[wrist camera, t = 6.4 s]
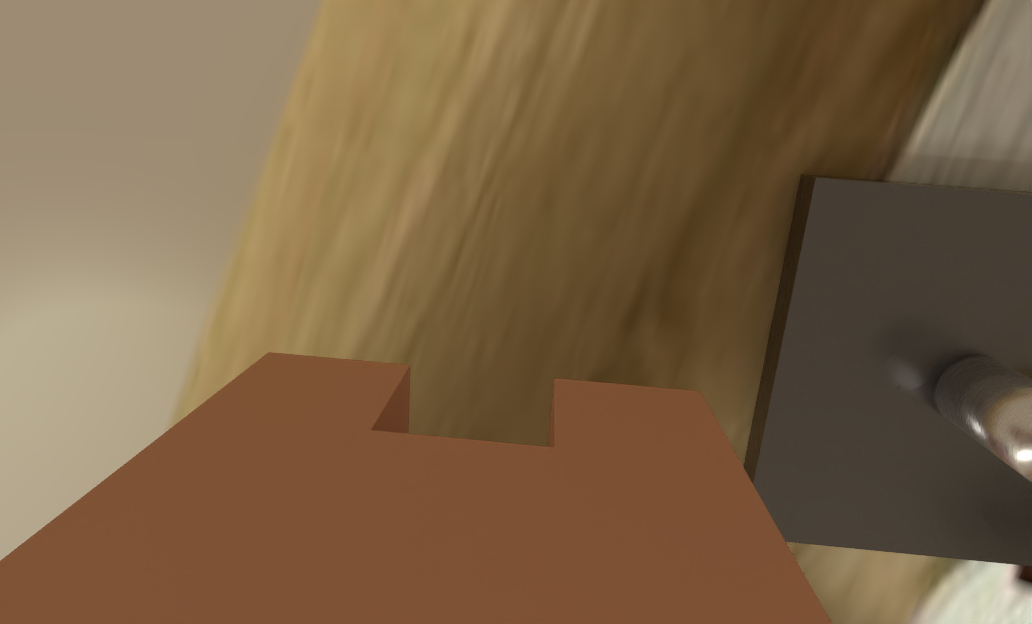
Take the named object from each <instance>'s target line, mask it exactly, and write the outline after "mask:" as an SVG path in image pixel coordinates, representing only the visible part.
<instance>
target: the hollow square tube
mask: <svg viewBox="0 0 1032 624" xmlns="http://www.w3.org/2000/svg"><path fill="white" fill-rule="evenodd" d="M409 394H410V365H403V364H392V363H381V362H370V361H359V360H348V359H337V358H326V357H315V356H304V355H292V354H281V353H270V352H268V353H267V354H266V355H265V356H263V357H262V358H261V359H259V360H258V361H257V362H256V363H254V364H253V365H252V366H250V367H249V368H248V369H247V370H245V371H244V372H243V373H241V374H240V375H239V376H238V377H236V378H235V379H234V380H232V381H231V382H230V383H229V384H227V385H226V386H225V387H223V388H222V389H221V390H220V391H218V392H217V393H216V394H214V395H213V396H212V397H211V398H209V399H208V400H207V401H205V402H204V403H203V404H202V405H200V406H199V407H198V408H196V409H195V410H194V411H193V412H191V413H190V414H189V415H187V416H186V417H185V418H184V419H182V420H181V421H180V422H178V423H177V424H176V425H175V426H173V427H172V428H171V429H169V430H168V431H167V432H165V433H164V434H163V435H162V436H160V437H159V438H158V439H157V440H155V441H154V442H153V443H151V444H150V445H149V446H147V447H146V448H145V449H144V450H142V451H141V452H140V453H139V454H137V455H136V456H135V457H133V458H132V459H131V460H130V461H128V462H127V463H126V464H124V465H123V466H122V467H120V468H119V469H118V470H117V471H115V472H114V473H113V474H112V475H110V476H109V477H108V478H107V479H105V480H104V481H102V482H101V483H100V484H99V485H97V486H96V487H95V488H93V489H92V490H91V491H90V492H88V493H87V494H86V495H85V496H83V497H82V498H81V499H79V500H78V501H77V502H75V503H74V504H73V505H72V506H70V507H69V508H68V509H67V510H65V511H64V512H63V513H61V514H60V515H59V516H57V517H56V518H55V519H54V520H52V521H51V522H50V523H48V524H47V525H46V526H45V527H43V528H42V529H41V530H39V531H38V532H37V533H36V534H34V535H33V536H32V537H30V538H29V539H28V540H27V541H25V542H24V543H23V544H21V545H20V546H19V547H17V548H16V549H15V550H14V551H12V552H11V553H10V554H9V555H7V556H6V557H5V558H4V559H2V560H1V561H0V624H831V622H830V620H829V618H828V616H827V615H826V613H825V611H824V609H823V608H822V606H821V604H820V602H819V601H818V599H817V597H816V595H815V593H814V592H813V590H812V588H811V586H810V585H809V583H808V581H807V579H806V577H805V576H804V574H803V572H802V570H801V569H800V567H799V565H798V563H797V561H796V560H795V558H794V556H793V554H792V553H791V551H790V549H789V547H788V546H787V544H786V542H785V540H784V538H783V537H782V535H781V533H780V531H779V530H778V528H777V526H776V524H775V522H774V521H773V519H772V517H771V515H770V514H769V512H768V510H767V508H766V507H765V505H764V503H763V501H762V499H761V498H760V496H759V494H758V492H757V491H756V489H755V487H754V485H753V483H752V482H751V480H750V478H749V476H748V475H747V473H746V471H745V469H744V468H743V466H742V464H741V462H740V460H739V459H738V457H737V455H736V453H735V452H734V450H733V448H732V446H731V444H730V443H729V441H728V439H727V437H726V436H725V434H724V432H723V430H722V428H721V427H720V425H719V423H718V421H717V420H716V418H715V416H714V414H713V413H712V411H711V409H710V407H709V405H708V404H707V402H706V400H705V398H704V397H703V395H702V393H701V391H692V390H681V389H670V388H659V387H648V386H637V385H625V384H614V383H603V382H592V381H581V380H570V379H559V378H554V386H553V397H552V407H551V417H550V428H549V438H548V447H546V446H535V445H524V444H514V443H503V442H492V441H482V440H471V439H460V438H450V437H439V436H429V435H418V434H408V428H409Z"/></svg>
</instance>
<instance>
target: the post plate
mask: <svg viewBox="0 0 1032 624" xmlns="http://www.w3.org/2000/svg"><path fill="white" fill-rule="evenodd" d="M744 469H745V471H746V473H747V475H748V476H749V478H750V480H751V482H752V483H753V485H754V487H755V489H756V491H757V492H758V494H759V496H760V498H761V499H762V501H763V503H764V505H765V507H766V508H767V510H768V512H769V514H770V515H771V517H772V519H773V521H774V522H775V524H776V526H777V528H778V530H779V531H780V533H781V535H782V537H783V538H784V540H785V542H795V543H805V544H815V545H825V546H835V547H845V548H855V549H865V550H875V551H885V552H896V553H906V554H916V555H926V556H936V557H946V558H956V559H966V560H976V561H986V562H996V563H1006V564H1016V565H1026V566H1032V193H1031V192H1018V191H1005V190H993V189H980V188H967V187H954V186H941V185H928V184H916V183H903V182H890V181H877V180H864V179H852V178H839V177H826V176H813V175H801V179H800V184H799V189H798V194H797V199H796V204H795V209H794V214H793V219H792V225H791V230H790V235H789V240H788V245H787V250H786V255H785V260H784V265H783V270H782V275H781V280H780V285H779V290H778V295H777V301H776V306H775V311H774V316H773V321H772V326H771V331H770V336H769V341H768V346H767V351H766V356H765V361H764V366H763V371H762V376H761V382H760V387H759V392H758V397H757V402H756V407H755V412H754V417H753V422H752V427H751V432H750V437H749V442H748V447H747V452H746V458H745V463H744Z"/></svg>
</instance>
